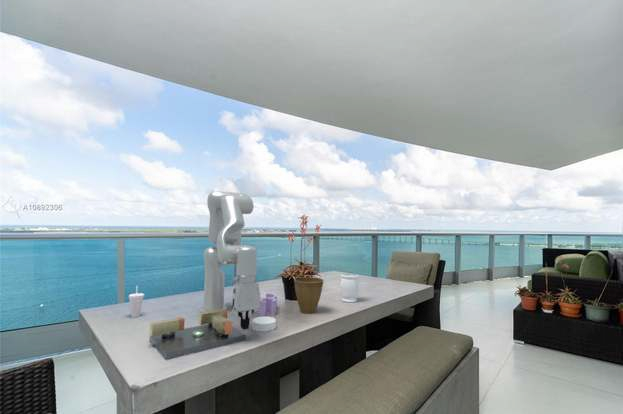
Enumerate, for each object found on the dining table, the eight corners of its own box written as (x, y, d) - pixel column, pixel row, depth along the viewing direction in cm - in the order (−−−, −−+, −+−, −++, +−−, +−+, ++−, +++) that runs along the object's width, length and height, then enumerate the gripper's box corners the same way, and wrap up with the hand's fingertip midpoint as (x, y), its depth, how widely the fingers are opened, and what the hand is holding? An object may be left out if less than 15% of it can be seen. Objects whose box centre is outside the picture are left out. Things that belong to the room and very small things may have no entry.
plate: (149, 341, 113) (149, 332, 113) (222, 326, 131) (222, 318, 132) (166, 359, 98) (166, 349, 98) (245, 339, 116) (246, 331, 116)
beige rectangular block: (201, 329, 120) (202, 315, 121) (197, 326, 124) (197, 312, 124) (228, 323, 128) (228, 310, 128) (223, 321, 131) (223, 308, 131)
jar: (339, 302, 177) (340, 275, 178) (341, 298, 187) (341, 273, 188) (358, 303, 175) (358, 276, 176) (358, 299, 186) (359, 273, 187)
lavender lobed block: (281, 315, 150) (281, 300, 150) (255, 317, 146) (255, 302, 146) (273, 305, 169) (274, 292, 169) (250, 306, 165) (250, 293, 165)
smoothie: (126, 318, 139) (128, 286, 140) (127, 315, 144) (129, 284, 145) (143, 317, 142) (145, 285, 143) (143, 313, 147) (145, 283, 148)
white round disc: (259, 323, 137) (260, 315, 137) (280, 326, 134) (280, 317, 134) (247, 330, 128) (247, 321, 128) (268, 333, 124) (268, 324, 125)
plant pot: (289, 314, 152) (290, 280, 153) (298, 306, 166) (298, 276, 167) (319, 316, 148) (320, 282, 149) (325, 308, 162) (326, 277, 163)
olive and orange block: (152, 341, 107) (153, 325, 107) (148, 337, 110) (149, 322, 111) (184, 334, 115) (185, 319, 115) (180, 331, 118) (180, 316, 118)
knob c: (210, 331, 119) (210, 316, 119) (220, 328, 122) (221, 314, 122) (222, 339, 110) (223, 323, 111) (234, 336, 113) (234, 321, 114)
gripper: (232, 282, 112) (231, 335, 110) (268, 278, 121) (267, 327, 120) (223, 279, 117) (221, 330, 116) (258, 276, 127) (256, 322, 126)
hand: (244, 328), depth 118 cm, fingers closed
